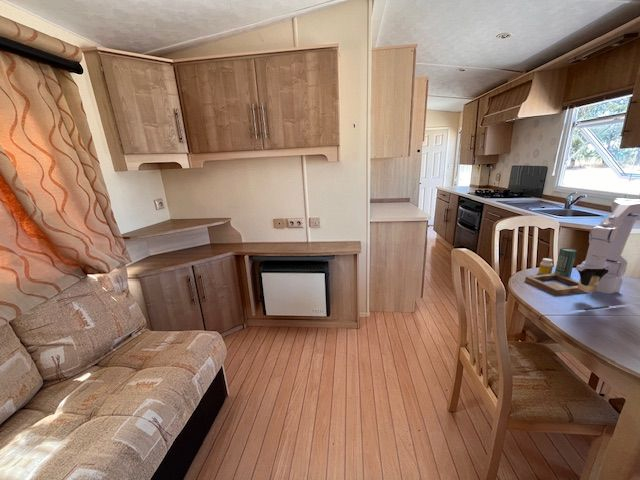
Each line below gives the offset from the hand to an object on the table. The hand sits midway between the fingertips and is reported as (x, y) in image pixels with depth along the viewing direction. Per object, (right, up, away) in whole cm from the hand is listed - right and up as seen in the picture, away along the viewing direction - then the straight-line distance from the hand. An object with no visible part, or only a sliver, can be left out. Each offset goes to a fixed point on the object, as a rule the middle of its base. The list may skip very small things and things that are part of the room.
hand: (588, 284), depth 112 cm
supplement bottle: (+7, -1, +30) cm, 31 cm away
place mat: (0, -9, +2) cm, 9 cm away
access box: (0, -4, +17) cm, 17 cm away
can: (+16, 0, +29) cm, 33 cm away
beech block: (0, -3, +1) cm, 3 cm away
